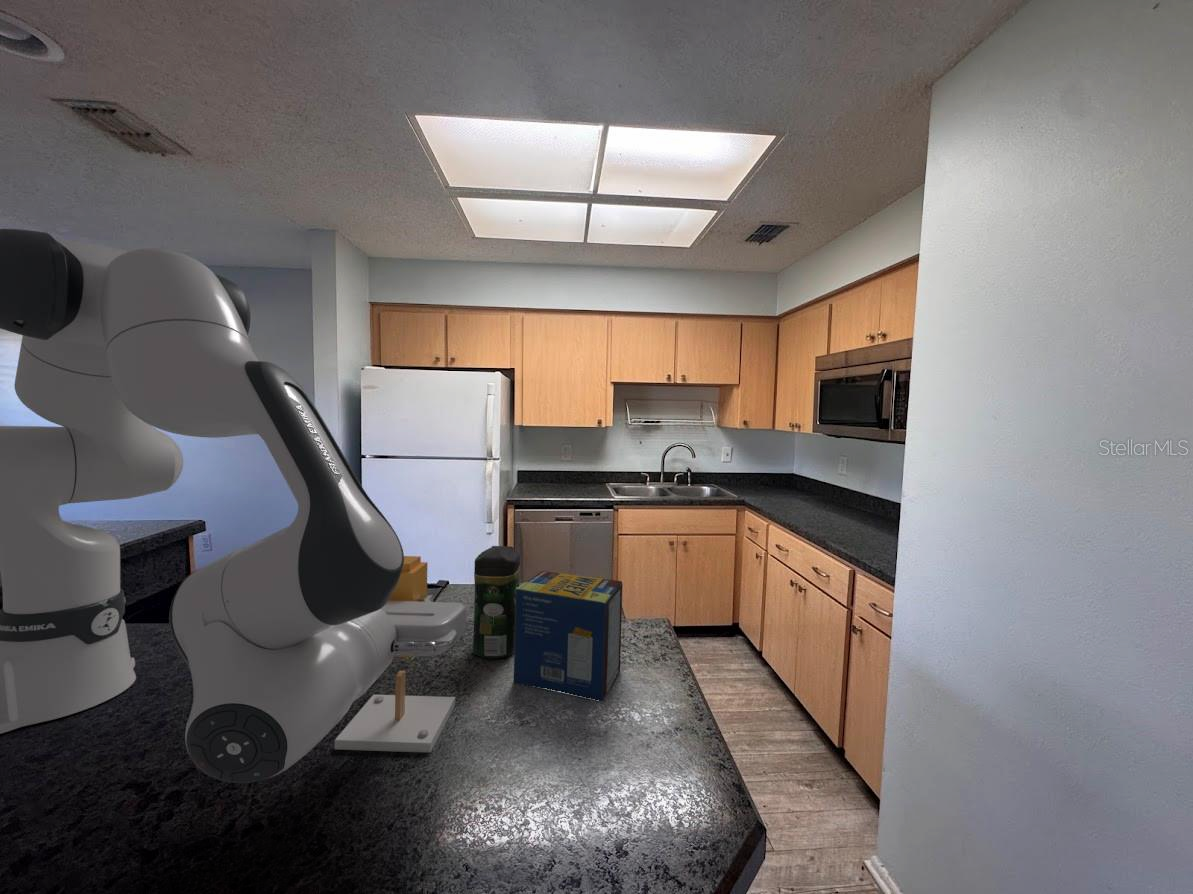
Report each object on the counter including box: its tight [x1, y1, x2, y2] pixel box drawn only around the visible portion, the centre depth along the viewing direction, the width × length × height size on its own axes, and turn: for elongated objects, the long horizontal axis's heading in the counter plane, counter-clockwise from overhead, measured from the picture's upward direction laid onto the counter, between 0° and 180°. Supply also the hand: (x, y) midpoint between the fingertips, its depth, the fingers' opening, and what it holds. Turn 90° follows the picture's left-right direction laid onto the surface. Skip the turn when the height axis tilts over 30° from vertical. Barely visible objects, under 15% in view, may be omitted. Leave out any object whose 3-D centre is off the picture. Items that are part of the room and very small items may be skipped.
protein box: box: [513, 570, 623, 701], centre depth 77 cm, size 10×15×16 cm
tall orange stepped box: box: [388, 555, 428, 658], centre depth 62 cm, size 5×5×12 cm
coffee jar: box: [472, 545, 521, 660], centre depth 86 cm, size 10×8×19 cm
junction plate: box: [334, 670, 456, 753], centre depth 63 cm, size 12×10×7 cm
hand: (404, 599), depth 63 cm, fingers closed on tall orange stepped box, 5 cm apart
